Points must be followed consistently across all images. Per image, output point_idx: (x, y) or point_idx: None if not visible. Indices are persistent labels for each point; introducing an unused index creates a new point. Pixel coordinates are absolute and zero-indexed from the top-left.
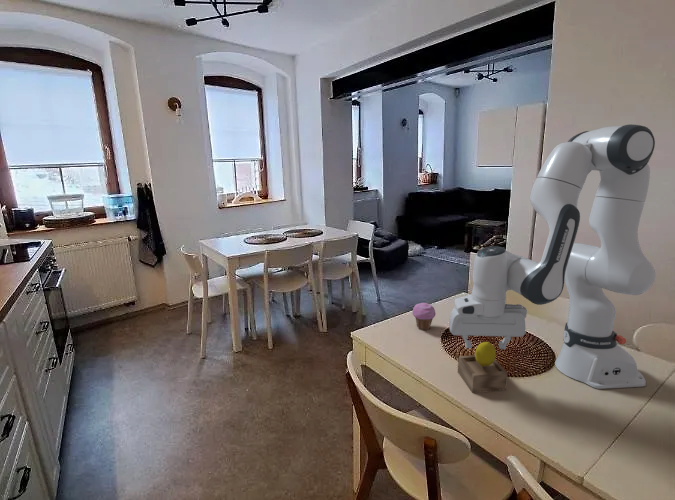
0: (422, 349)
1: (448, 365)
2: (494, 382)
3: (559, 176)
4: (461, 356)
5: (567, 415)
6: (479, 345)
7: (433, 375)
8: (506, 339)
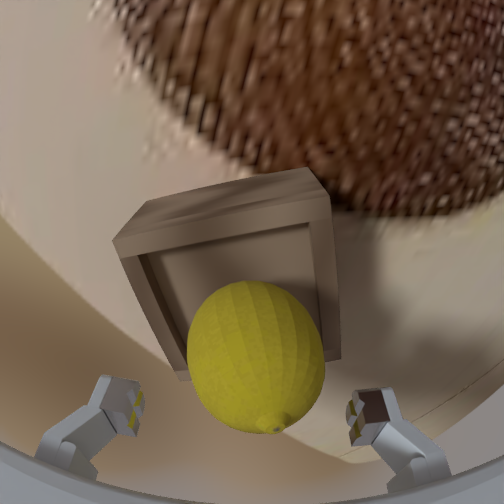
0: (20, 38)
1: (109, 147)
2: None
3: None
4: (127, 240)
5: (423, 370)
6: (204, 399)
7: (56, 235)
8: (399, 466)
